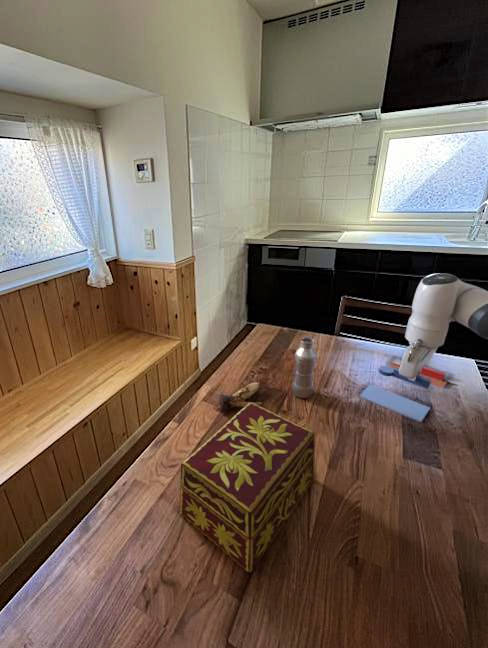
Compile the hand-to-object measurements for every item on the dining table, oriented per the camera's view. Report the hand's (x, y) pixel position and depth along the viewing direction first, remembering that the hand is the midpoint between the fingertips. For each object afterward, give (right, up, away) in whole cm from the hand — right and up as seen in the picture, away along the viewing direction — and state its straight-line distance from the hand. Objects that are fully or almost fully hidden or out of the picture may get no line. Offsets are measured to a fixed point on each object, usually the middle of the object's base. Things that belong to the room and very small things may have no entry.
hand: (413, 377), depth 96 cm
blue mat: (-2, -9, +7) cm, 12 cm away
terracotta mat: (+15, -2, +20) cm, 25 cm away
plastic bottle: (-27, -8, +13) cm, 32 cm away
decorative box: (-50, -24, -19) cm, 59 cm away
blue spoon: (-2, -1, +3) cm, 3 cm away
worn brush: (-47, -10, +11) cm, 49 cm away
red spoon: (+15, -1, +20) cm, 25 cm away
